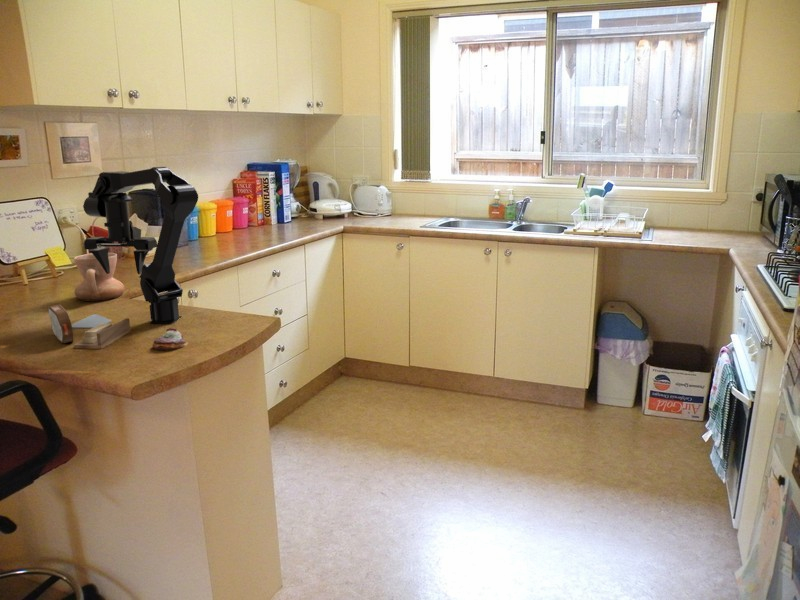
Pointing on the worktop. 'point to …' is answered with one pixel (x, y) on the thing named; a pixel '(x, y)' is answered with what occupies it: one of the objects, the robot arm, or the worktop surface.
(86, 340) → the offcut lower
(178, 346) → the pastry
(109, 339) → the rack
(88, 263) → the ceramic jug
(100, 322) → the slate mat
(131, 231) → the robot arm
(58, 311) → the tin
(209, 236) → the worktop surface
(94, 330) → the offcut upper
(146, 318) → the worktop surface
